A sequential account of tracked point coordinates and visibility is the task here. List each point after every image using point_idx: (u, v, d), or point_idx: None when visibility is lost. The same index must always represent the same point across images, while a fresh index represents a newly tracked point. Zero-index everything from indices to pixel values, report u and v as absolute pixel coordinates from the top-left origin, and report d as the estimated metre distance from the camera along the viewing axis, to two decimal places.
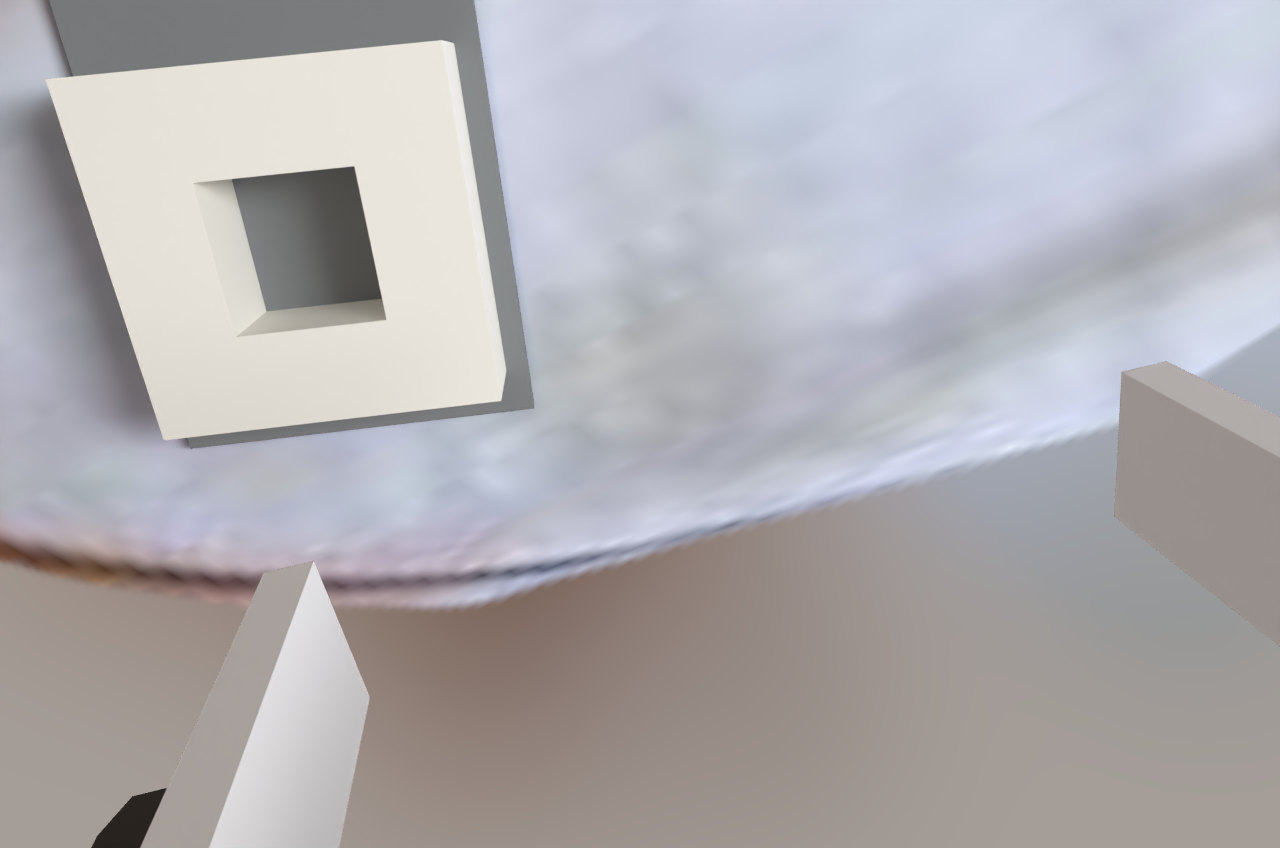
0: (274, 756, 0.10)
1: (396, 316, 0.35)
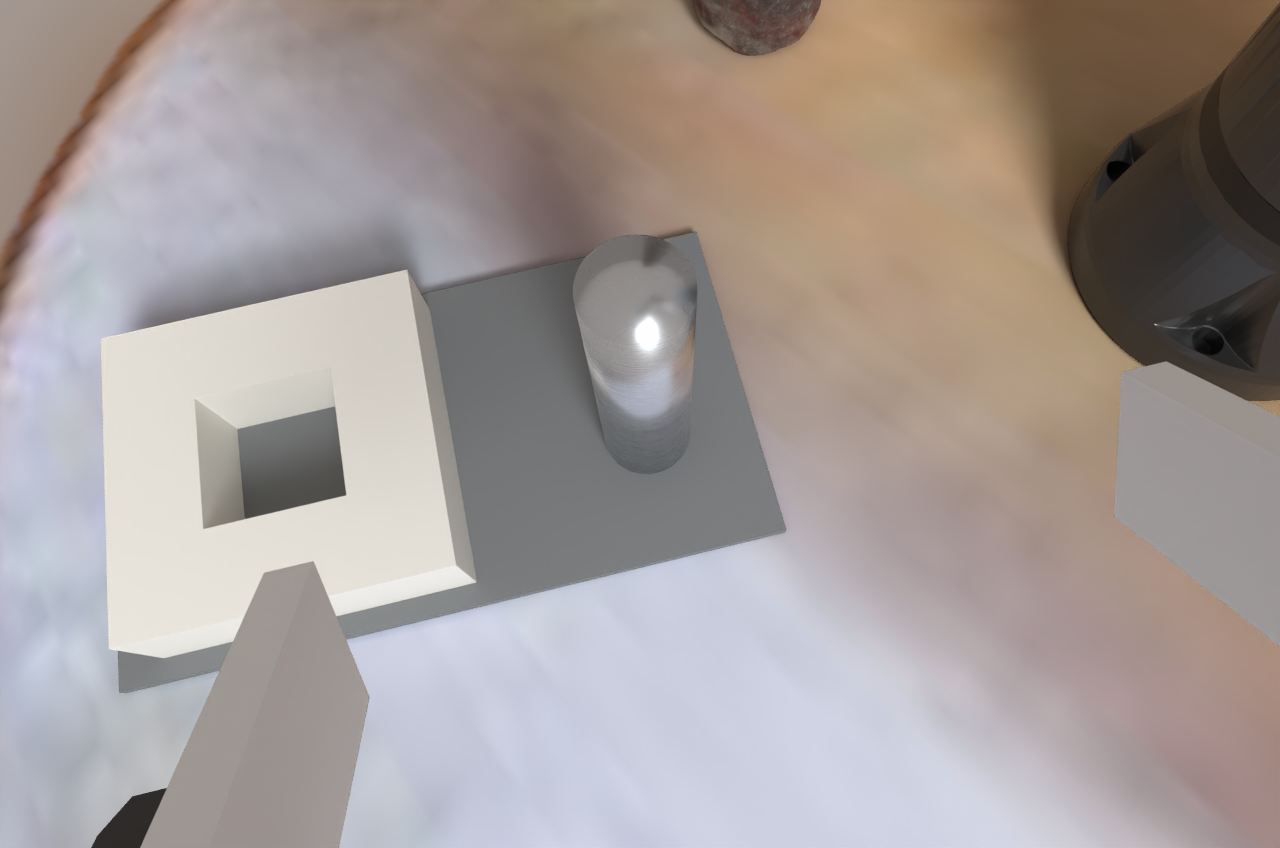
0: (274, 756, 0.10)
1: (206, 538, 0.36)
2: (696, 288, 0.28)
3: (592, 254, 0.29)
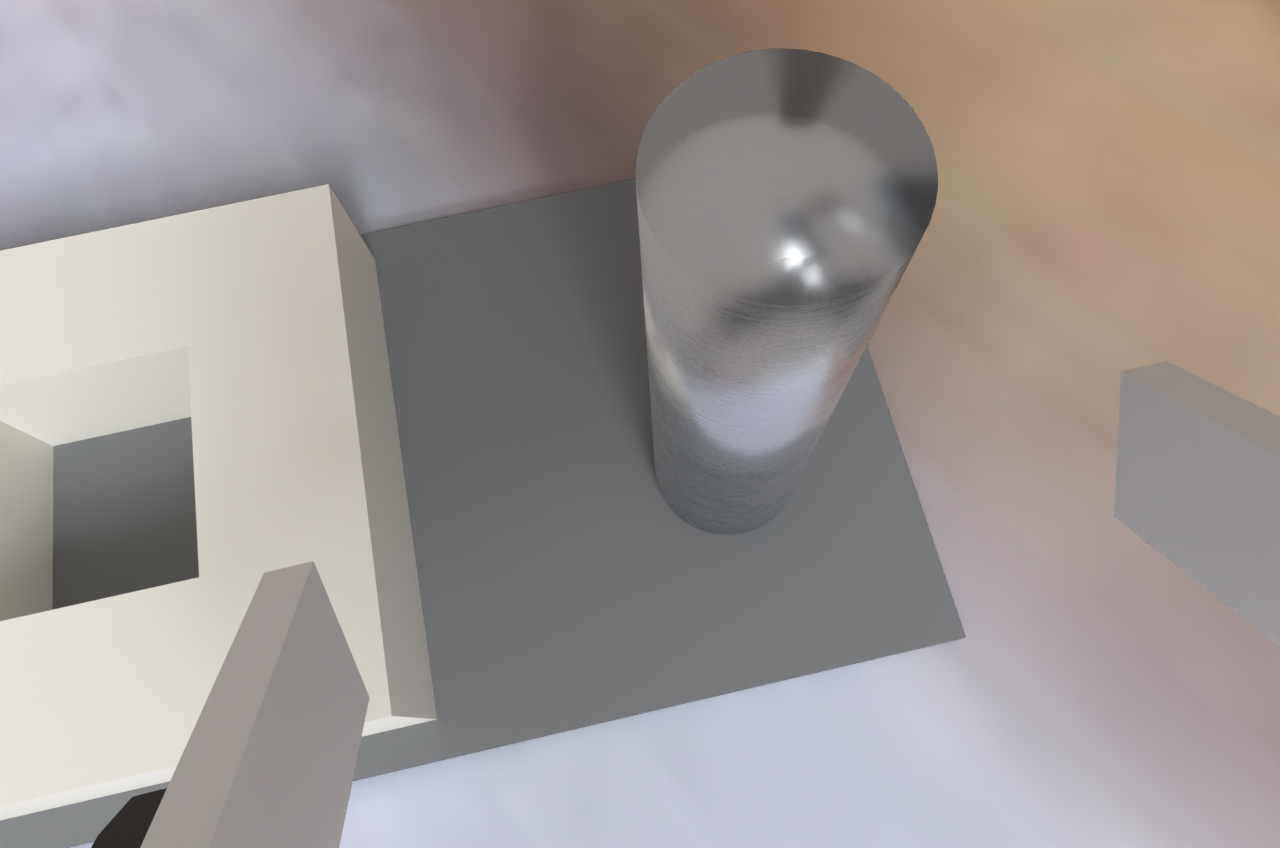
0: (274, 756, 0.10)
1: None
2: (935, 169, 0.12)
3: (680, 91, 0.12)
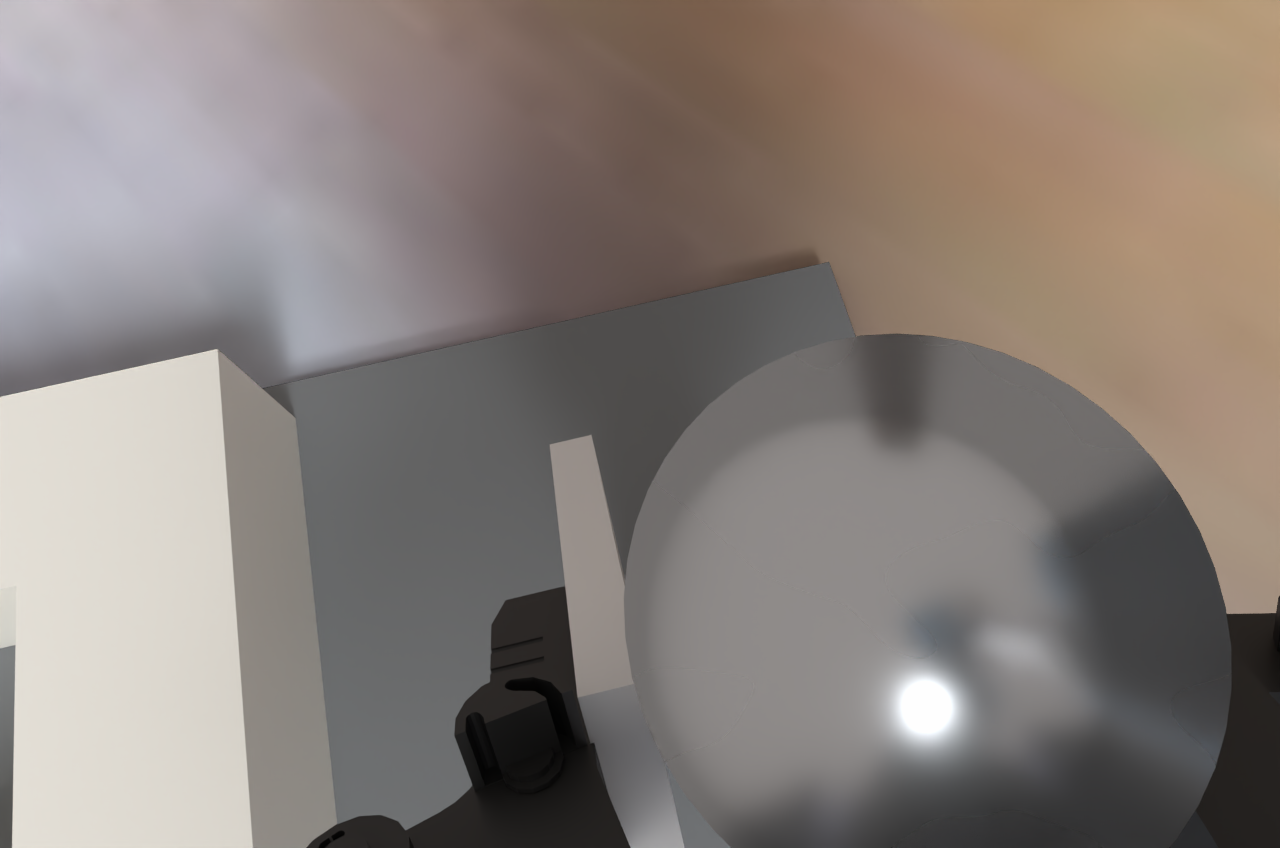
0: None
1: None
2: (1221, 603, 0.06)
3: (706, 425, 0.06)
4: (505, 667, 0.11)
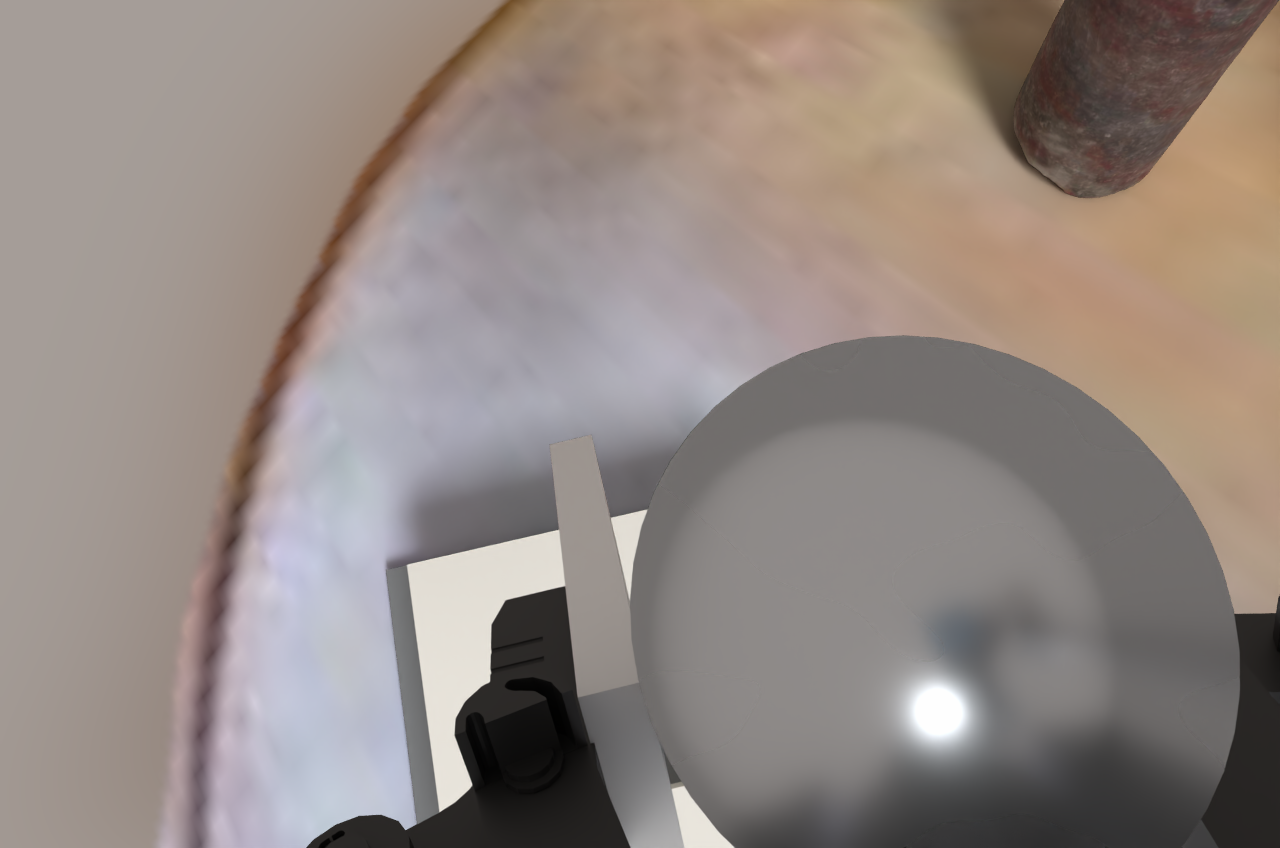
0: None
1: None
2: (1229, 606, 0.06)
3: (712, 427, 0.06)
4: (505, 667, 0.11)
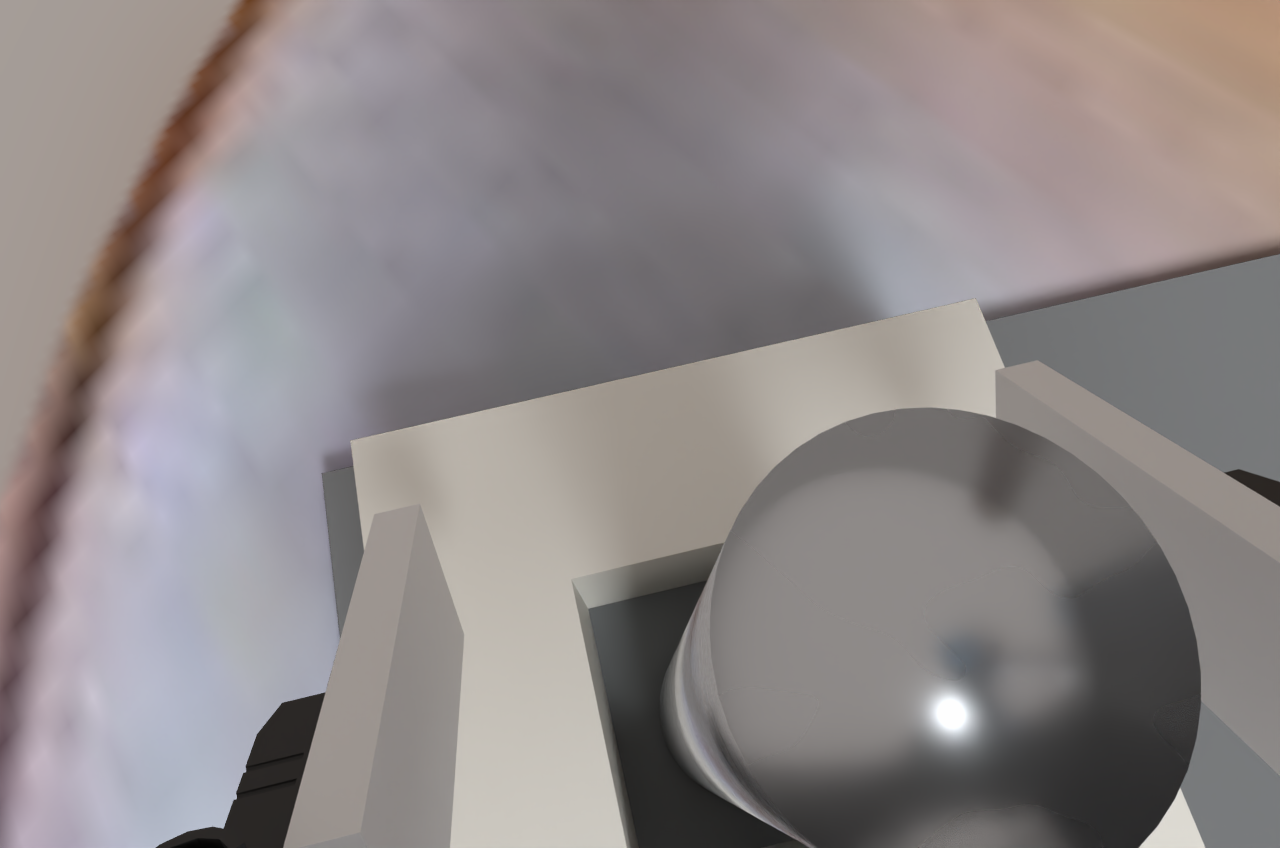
0: (410, 666, 0.11)
1: None
2: (1193, 636, 0.07)
3: (773, 483, 0.08)
4: (252, 791, 0.10)
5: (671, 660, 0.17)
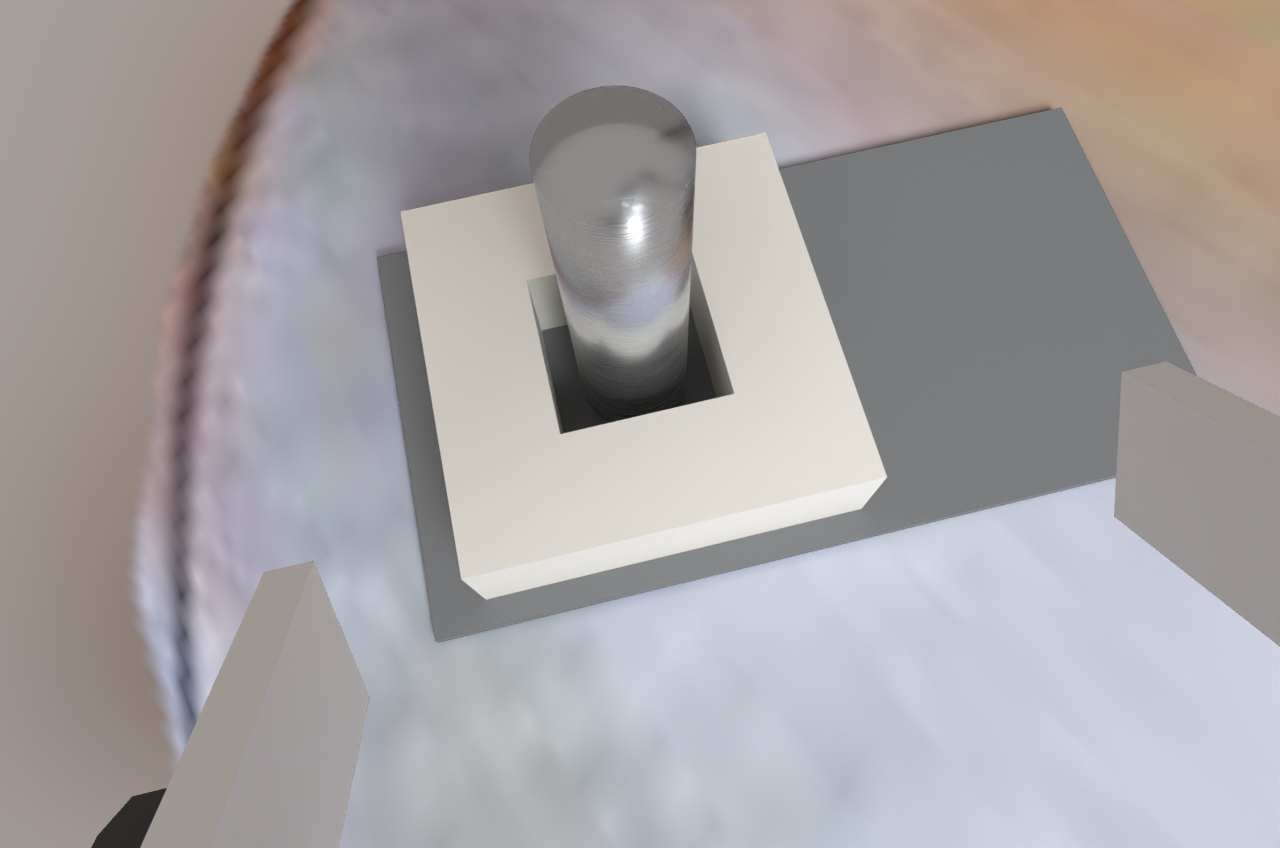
0: (274, 756, 0.10)
1: (565, 445, 0.29)
2: (694, 150, 0.21)
3: (556, 111, 0.22)
4: None
5: None
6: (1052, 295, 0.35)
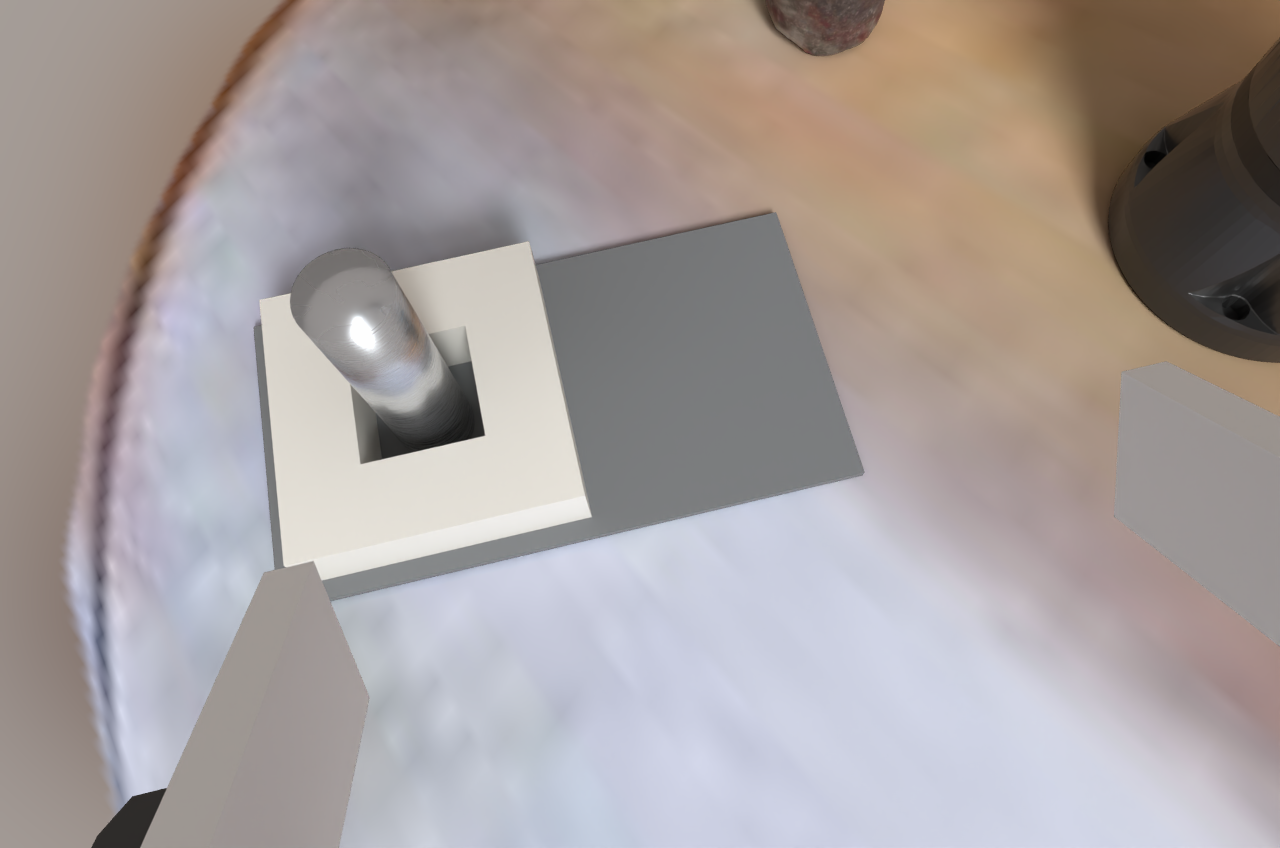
0: (274, 756, 0.10)
1: (363, 472, 0.41)
2: (393, 293, 0.33)
3: (310, 265, 0.34)
4: None
5: None
6: (749, 358, 0.47)
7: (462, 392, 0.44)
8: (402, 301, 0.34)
